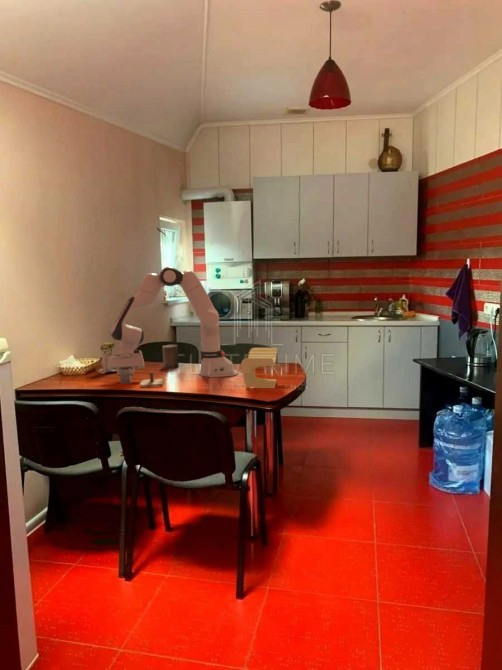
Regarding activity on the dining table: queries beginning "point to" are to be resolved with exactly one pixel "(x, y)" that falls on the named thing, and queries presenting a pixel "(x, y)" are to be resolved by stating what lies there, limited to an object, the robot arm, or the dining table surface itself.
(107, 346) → the beige sitting figure
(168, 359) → the pillar candle
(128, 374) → the grey rectangular block
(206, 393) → the dining table surface
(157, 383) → the post
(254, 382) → the wooden slatted rack
